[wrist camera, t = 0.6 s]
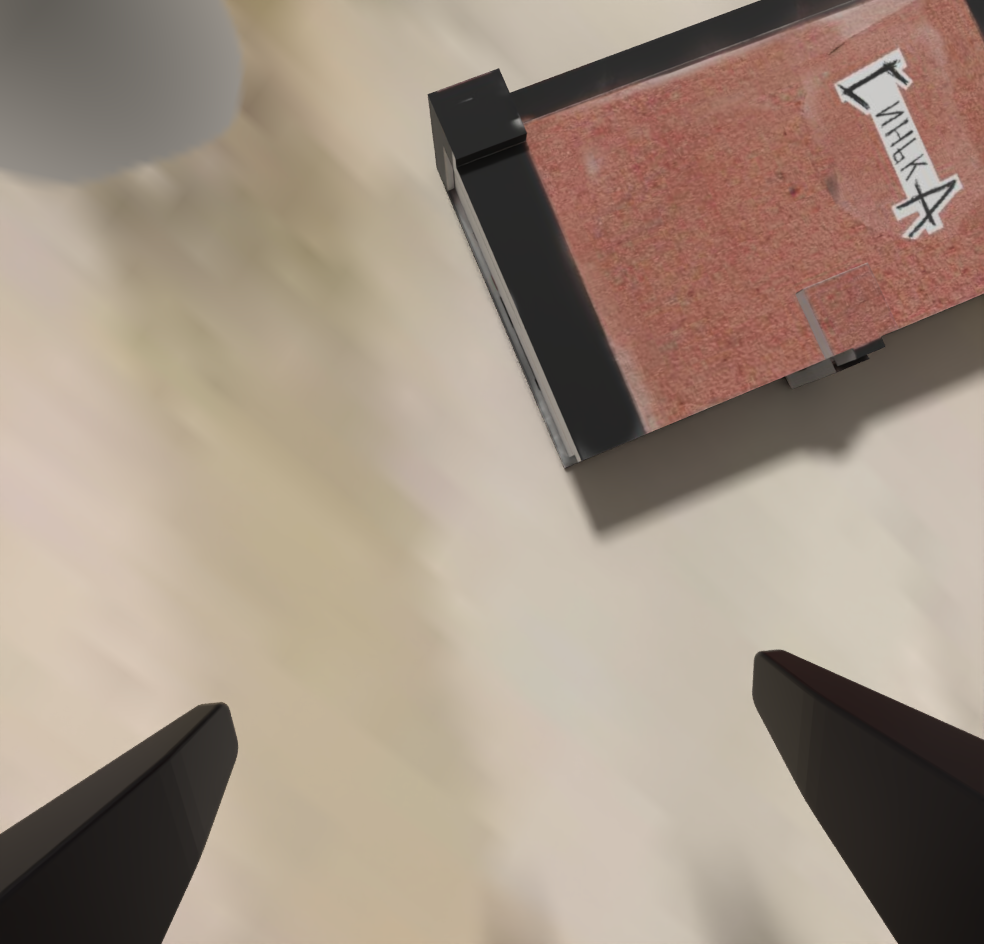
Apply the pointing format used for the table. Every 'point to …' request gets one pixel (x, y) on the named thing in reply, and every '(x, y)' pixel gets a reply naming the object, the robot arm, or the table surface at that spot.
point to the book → (723, 205)
